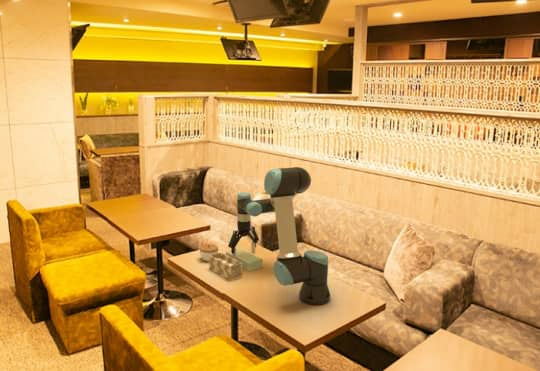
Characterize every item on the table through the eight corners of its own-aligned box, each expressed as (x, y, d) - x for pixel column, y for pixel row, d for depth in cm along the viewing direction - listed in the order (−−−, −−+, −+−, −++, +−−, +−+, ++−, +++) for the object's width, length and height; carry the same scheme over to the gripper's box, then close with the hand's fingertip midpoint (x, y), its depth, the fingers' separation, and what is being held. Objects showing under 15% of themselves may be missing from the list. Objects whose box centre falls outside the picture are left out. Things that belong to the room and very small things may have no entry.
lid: (262, 267, 260) (262, 259, 259) (248, 271, 254) (248, 263, 253) (239, 256, 276) (239, 248, 275) (225, 259, 270) (225, 251, 269)
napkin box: (242, 277, 247) (242, 263, 245) (230, 281, 242) (230, 266, 240) (221, 265, 262) (221, 252, 260) (209, 269, 257) (209, 255, 255)
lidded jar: (210, 264, 263) (210, 249, 261) (196, 260, 268) (195, 245, 266) (222, 258, 272) (221, 243, 270) (207, 255, 277) (207, 240, 275)
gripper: (257, 214, 270) (257, 249, 275) (221, 222, 254) (222, 258, 259) (265, 217, 264) (265, 252, 269) (229, 225, 249) (229, 262, 253)
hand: (244, 255), depth 264 cm, fingers open, 13 cm apart
